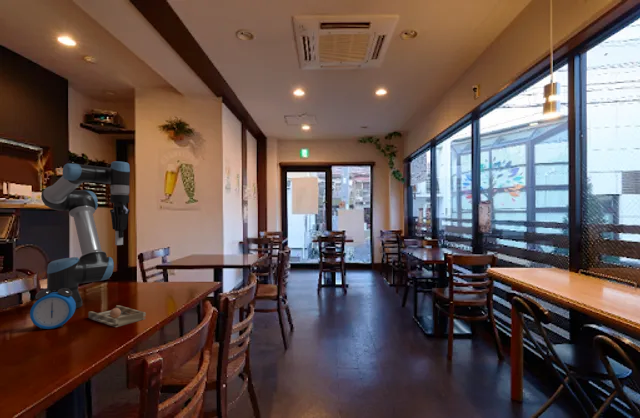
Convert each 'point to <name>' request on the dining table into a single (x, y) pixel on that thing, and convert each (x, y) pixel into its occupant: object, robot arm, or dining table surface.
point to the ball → (115, 312)
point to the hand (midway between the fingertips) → (119, 244)
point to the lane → (120, 320)
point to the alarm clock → (52, 308)
